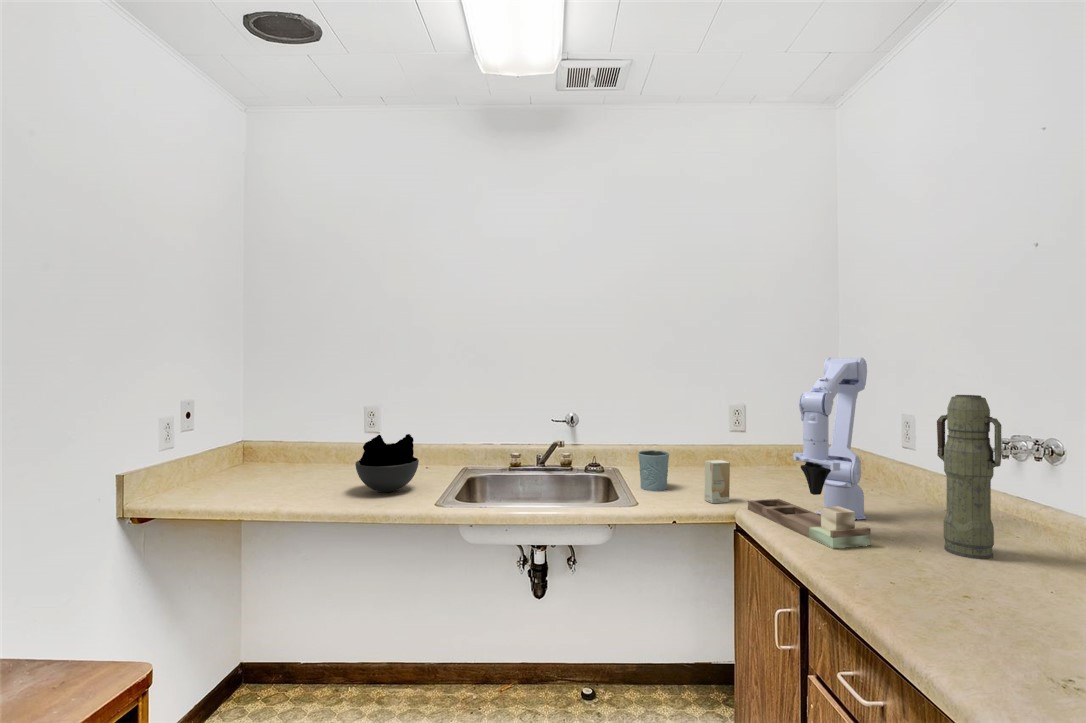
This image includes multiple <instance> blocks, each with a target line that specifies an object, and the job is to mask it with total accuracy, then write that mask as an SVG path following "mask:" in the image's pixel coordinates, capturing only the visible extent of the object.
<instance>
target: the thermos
mask: <svg viewBox="0 0 1086 723" xmlns="http://www.w3.org/2000/svg"><path fill="white" fill-rule="evenodd" d="M990 409H991V408H990V406H989V404H988V401H987V399H986V397H983V396H982V395H978V394H977V395H976V394H955V395H954V396H951V397H950V400H949V402H948V405H947V409H946V410H947V413H946V415H945V414H943V415H940V416H939V418H938V419H937V420H936V433H937V435H936V436H937V438H936V440H937V456H938V458H940V460H942V462H943V472H944V473H945V476H946V515H945V516H944V519H943V539H944V550H945V551H946V552H948V553H950V554H952V555H953V554H954V555H955V556H959V557H963V558H969V559H977V560H978V559H979V560H988V559H992V558H993V557H994V554H993V548H994V546H995V540H994V539H995V531H994V528H995V527H994V524H993V522H992V518H991V517H992V516H991V515H992V513H991V512H992V511H991V510H992V509H991V508H992V505H991V503H992V499H991V498H992V497H991V496H992V495H991V493H992V489H991V488H992V484H991V480H992V478H993V477H994V471H995V470H994V469H995V468H998V467H1000V466H1001V463H1002V424H1001V422H1000V421H999V420H998V418H995V417H993V416H991V410H990ZM946 423H947V424H946ZM991 423H992V424H993V427H994V451H993V447H992V444H991V438H990V432H991ZM946 425H947V426H946ZM946 427H947V428H946ZM946 429H947V430H948V431H947V432H948V434H947V436H946ZM946 437H947V438H946ZM946 439H947V440H946Z"/></svg>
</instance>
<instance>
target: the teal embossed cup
mask: <svg viewBox="0 0 1086 723" xmlns="http://www.w3.org/2000/svg"><path fill="white" fill-rule="evenodd" d="M637 454H638V462H639V463H638V464H639V477H640V479H639V480H640V489H642V490H643V491H649V492H664V491H667V489H668V473H669V460H670V458H669V457H670V452H668V451H666V450H656V449H655V450H654V449H651V450H650V449H647V450H639V451H638V452H637Z"/></svg>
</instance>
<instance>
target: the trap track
mask: <svg viewBox="0 0 1086 723" xmlns="http://www.w3.org/2000/svg"><path fill="white" fill-rule="evenodd" d="M747 510H749V511H751V512H753V513H755V514H757V515H759V516H761V517H763V518H766V519H768V520H770V521H772V522H774V523H777V524H779V525H781V526H782V527H784V528H787V529H789V530H791V531H793V532H795V533H798V534H800V535H802V536H804V537H806V538H809V539H810V538H811V540H813V541H815V542H817V541H818V543H819V542H820V543H819V544H821V543H822V545H823V544H825V545H827V546H826V547H828V546H829V547H828V548H830V547H831V548H830V549H832V548H833V549H832V550H835V549H834V548H839V549H846V548H845V547H851V548H857V547H856V546H863V547H867V546H866V545H871V542H872V541H871V538H872V536H871V535H872V533H871V528H870V527H858V528H857V527H855V529H842V530H830V532H829V531H826V530H824V529H822V528H821V515H820V514H818V513H817V512H814V511H811V510H808V509H806V508H803V507H800V506H798V505H796V504H793V503H791V502H788V501H786V500H783V499H780V498H769V499H755V500H751V499H750V500H747ZM825 545H824V546H825Z"/></svg>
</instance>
